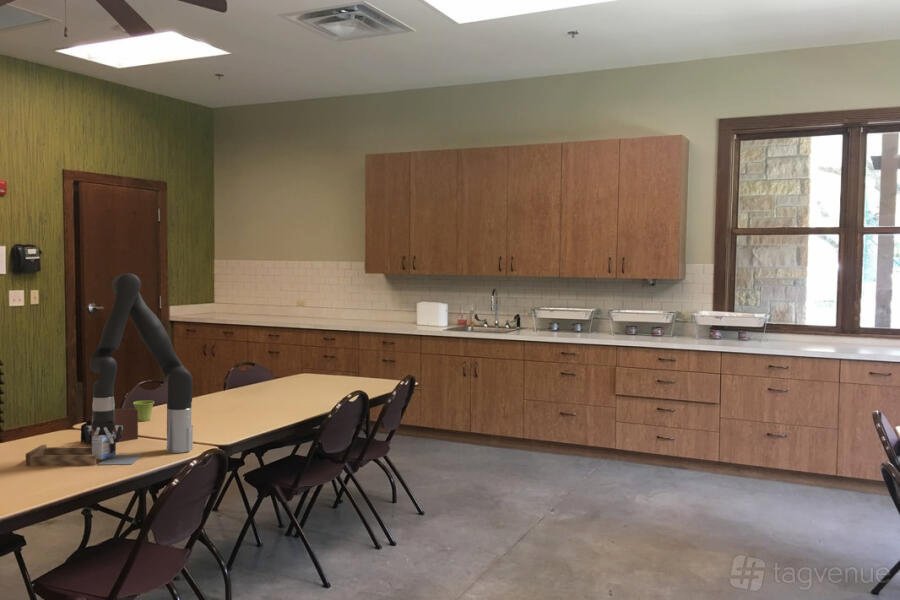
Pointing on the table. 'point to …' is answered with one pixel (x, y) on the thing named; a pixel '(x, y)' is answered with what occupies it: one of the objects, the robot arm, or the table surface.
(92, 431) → the letter holder
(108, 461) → the slate mat
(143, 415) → the plant pot
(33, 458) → the frame
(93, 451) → the medicine box
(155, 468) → the table surface
